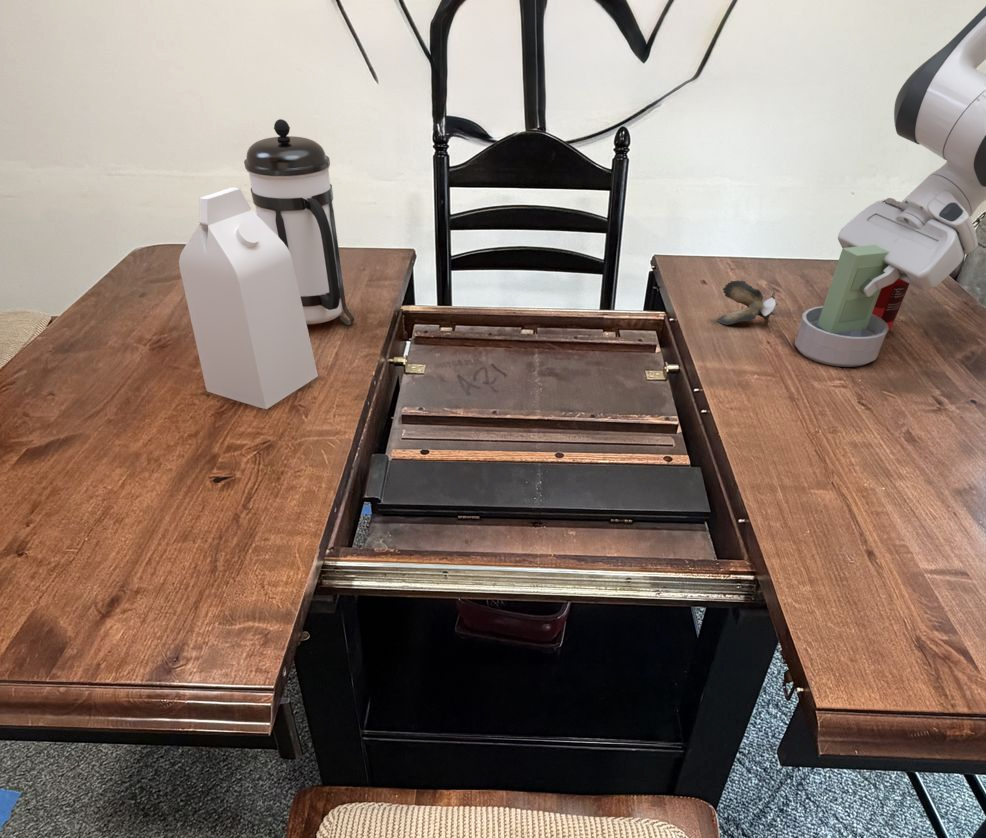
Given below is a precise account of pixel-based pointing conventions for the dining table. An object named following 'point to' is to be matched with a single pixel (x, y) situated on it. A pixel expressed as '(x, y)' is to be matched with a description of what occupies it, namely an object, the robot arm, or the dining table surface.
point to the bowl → (839, 341)
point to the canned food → (890, 301)
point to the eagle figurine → (747, 303)
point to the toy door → (852, 289)
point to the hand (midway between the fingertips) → (852, 287)
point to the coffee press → (301, 216)
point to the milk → (244, 305)
